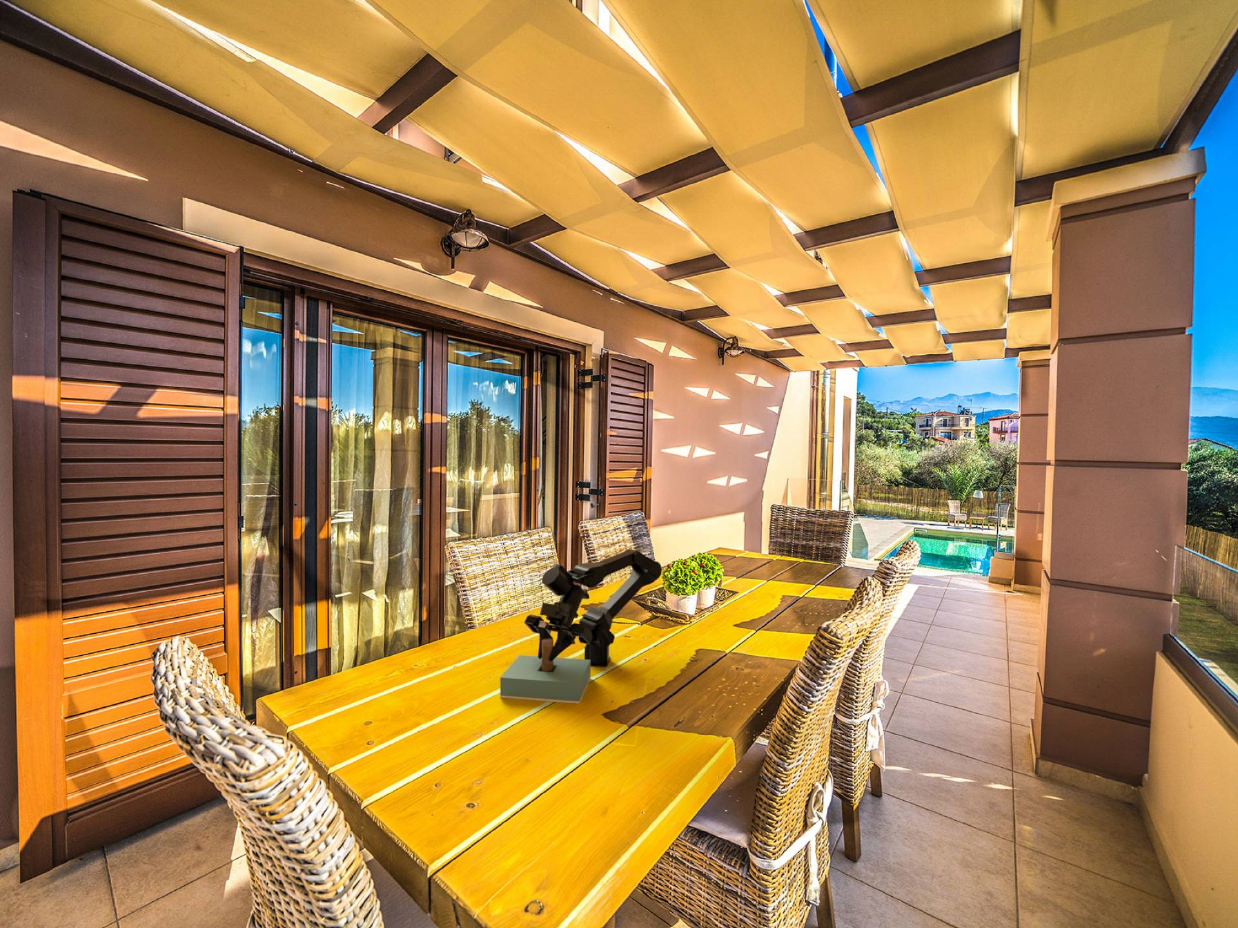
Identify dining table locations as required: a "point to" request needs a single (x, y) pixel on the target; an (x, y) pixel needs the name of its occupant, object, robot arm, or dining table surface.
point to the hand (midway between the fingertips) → (544, 659)
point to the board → (546, 680)
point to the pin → (547, 655)
